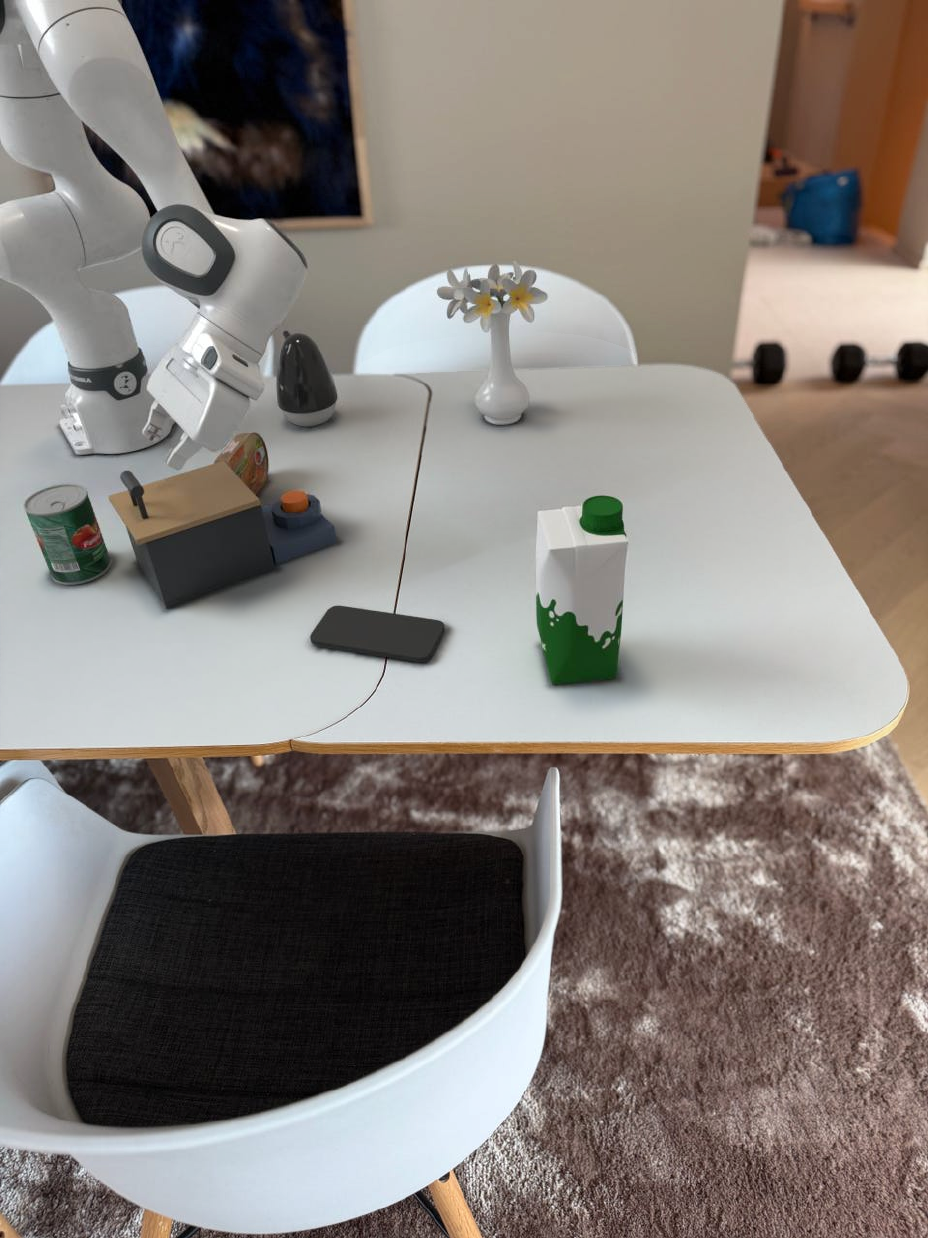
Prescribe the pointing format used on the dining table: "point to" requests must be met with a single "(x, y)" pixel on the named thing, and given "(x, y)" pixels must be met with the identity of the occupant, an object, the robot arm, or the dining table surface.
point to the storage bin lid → (180, 501)
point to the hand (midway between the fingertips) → (159, 452)
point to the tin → (247, 459)
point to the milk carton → (581, 589)
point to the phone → (378, 633)
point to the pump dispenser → (304, 382)
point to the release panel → (297, 530)
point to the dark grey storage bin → (206, 557)
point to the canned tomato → (68, 533)
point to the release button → (294, 501)
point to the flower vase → (496, 333)
